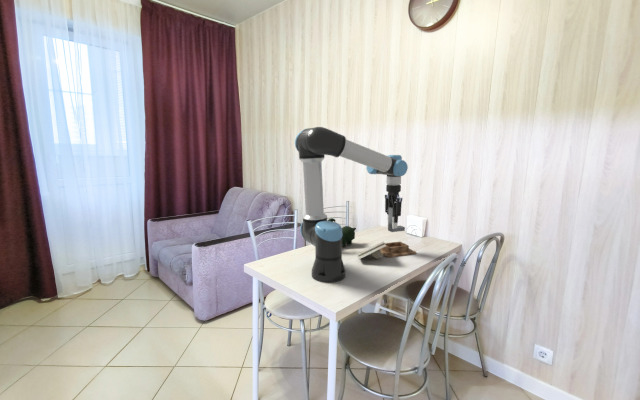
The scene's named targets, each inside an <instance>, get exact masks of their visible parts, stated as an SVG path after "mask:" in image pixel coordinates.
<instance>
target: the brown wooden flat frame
mask: <svg viewBox="0 0 640 400" xmlns="http://www.w3.org/2000/svg"><path fill="white" fill-rule="evenodd" d="M384 243H385V245H386V246H385V247H383V248H381V249H380V251H381V253H382V255H383V257H386V258H388V259H389V258H394V257H402V256H410V255H411V256H412V255H417V251H415V250H413V249H411V248H410V246H409V245H408V244H406V243H404V242H402V241H393V242H384Z"/></svg>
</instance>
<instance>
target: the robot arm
mask: <svg viewBox="0 0 640 400" xmlns="http://www.w3.org/2000/svg"><path fill="white" fill-rule="evenodd" d="M294 145H295V148H296V151H297V152H298V157H299V158H298V160H299V161H301V162H302V171H303V172H302V173H303V188H304V190H303V191H304V205H305V206H304V207H305V214H304V215H303V216H302V223H301V224H300V228H299V229H300V230H299V231H300V235H301V237H302V238H303V239H304V241H305V242H307V243H309V244H310V245H312V246H313V247H315V259H314V262H313V265H312V268H311V277H312V278H313V279H314V280H316V281H319V282H322V283H334V282H339V281H342V280H343V279H345V277H346V271H347V270H346V268H345V264H344V261H343V246H342V236H343V234H342V227H343V226H342V225H341V224H340V223H338V222H336V221H335V222H334V221H333V222H331V221H328V215H327V214H326V213H325V212H324V188H323V187H324V186H323V168H322V164H323V163H322V162H323V160H324V159H325V158H326V157H325V156H331V157H334V158H339V157H341V158H344V159H346V160H350V161H352V162H354V163H358V164H360V165H363V166H366V170H367V173H368V174H370V175H383V176H386V181H385V182H386V188H385V189H386V192H387V194H385V195H384V200H385V201H384V203H385V204H384V208H385V209H384V212H385V213H386V214H387V215H388V211H389V207H393V214H394V216H393V219H392V229H395V228H397V226H398V222H399V217H401V215H402V202H403V197H400V194H399V193H400V192H401V191H402V186H401V184H402V177H404V176H405V175H406V174H407V171H408V168H409V167H408V166H409V165H408V163H407V162H406V160H403V157H402V155H400V154H388V155H386V154H383V153H381V152H378V151H377V150H374V149H372V148H371V149H370V148H369V147H366V146H364V145H361V144H358V143H356V142H353V141H352V140H349V139H347V137H346V136H345V135H343V134H341V133H338V132H336V131H333V130H331V129H330V128H326V127H323V126H315V127H308V128H305V129H302V130H301V131H299V132H298V133H297V134H296V137H295V139H294ZM386 218H387V220H388V217H386ZM386 227H388V223H387V226H386Z"/></svg>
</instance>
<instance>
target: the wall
mask: <svg viewBox="0 0 640 400" xmlns="http://www.w3.org/2000/svg"><path fill="white" fill-rule="evenodd" d="M385 243H386V242H385V241H380V242H379V243H377V244H375V245H373V246H371V247H369V248H366V249H364V250H362V251H361V252H358V253H357V256H358V260H360V259H362V258H365V257H367V256H369V255H372V257H374V259H376V260H378V259H380V258H383V257H384V255H382V253H381V251H380V249H381V248H383V247H385V246H386V245H385Z"/></svg>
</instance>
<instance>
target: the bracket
mask: <svg viewBox="0 0 640 400" xmlns="http://www.w3.org/2000/svg"><path fill="white" fill-rule="evenodd" d="M393 216H394V214H393V207H389V211H388V214H387V218H388V219H387V224H388V226H387V231H388V232H390V233H398V232H405V230H406V227H405V226H403V225H397V228H395V229H392V219H393Z"/></svg>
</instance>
